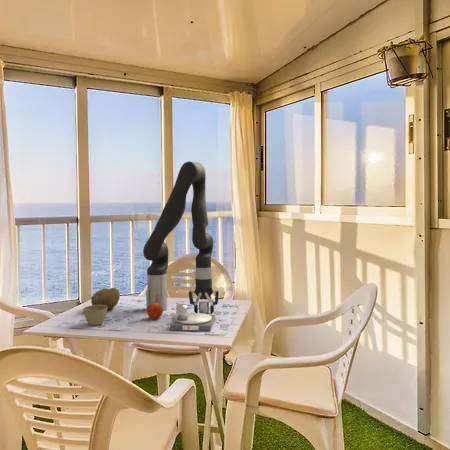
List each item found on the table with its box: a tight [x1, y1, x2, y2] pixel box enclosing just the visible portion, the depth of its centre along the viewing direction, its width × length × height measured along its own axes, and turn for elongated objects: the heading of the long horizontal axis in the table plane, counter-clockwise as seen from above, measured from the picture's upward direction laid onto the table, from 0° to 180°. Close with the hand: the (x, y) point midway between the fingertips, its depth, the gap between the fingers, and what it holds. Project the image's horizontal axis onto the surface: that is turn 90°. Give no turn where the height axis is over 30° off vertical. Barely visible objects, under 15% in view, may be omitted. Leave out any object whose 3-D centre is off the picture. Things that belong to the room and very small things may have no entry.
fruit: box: [146, 301, 164, 320], centre depth 182 cm, size 7×7×8 cm
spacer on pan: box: [175, 303, 188, 321], centre depth 169 cm, size 4×4×6 cm
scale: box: [170, 312, 216, 332], centre depth 171 cm, size 16×17×3 cm
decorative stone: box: [90, 287, 121, 311], centre depth 198 cm, size 17×11×10 cm, turn 164°
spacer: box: [198, 300, 210, 315], centre depth 187 cm, size 4×4×6 cm
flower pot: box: [82, 304, 108, 326], centre depth 174 cm, size 10×10×7 cm
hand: (204, 313), depth 187 cm, fingers open, 6 cm apart
